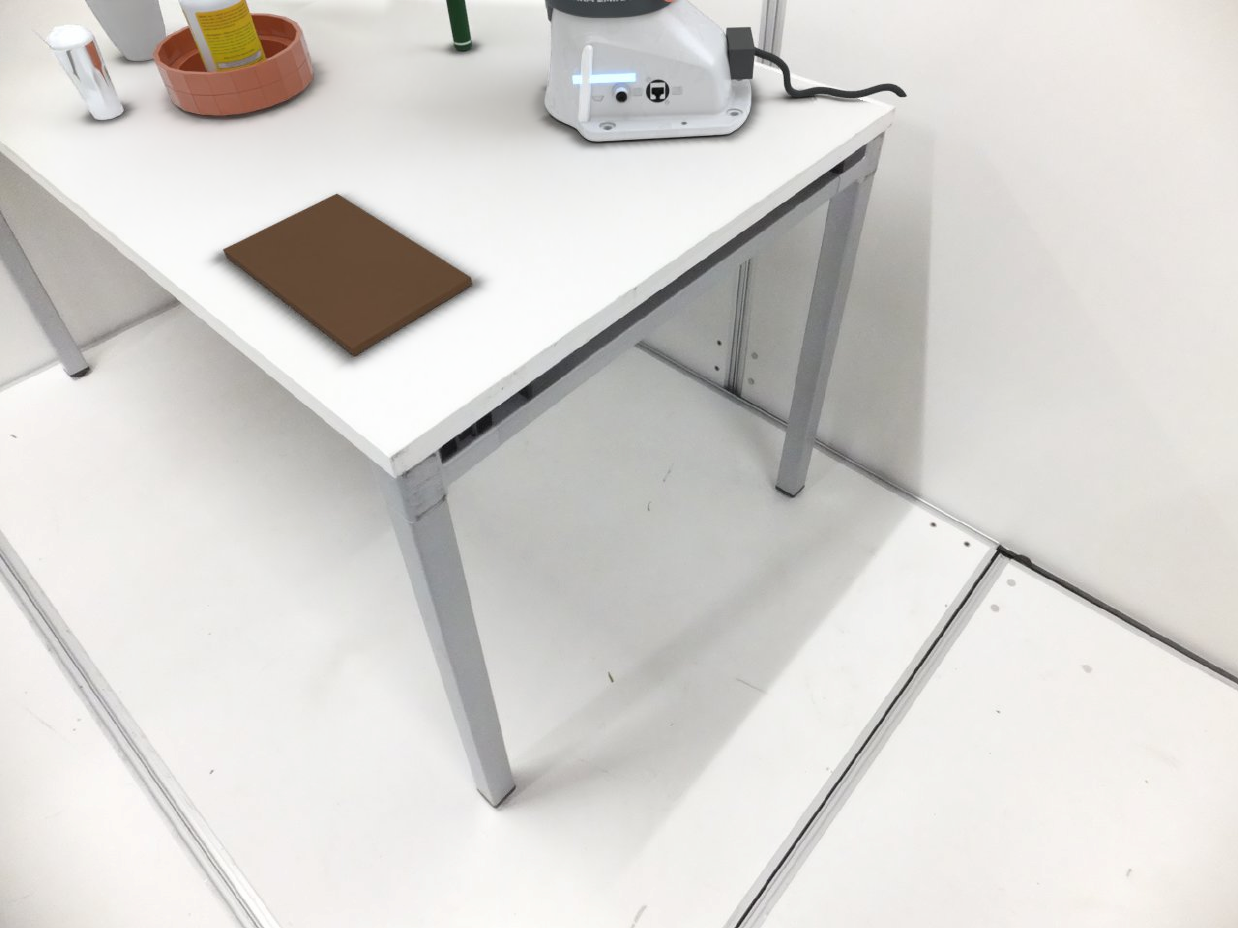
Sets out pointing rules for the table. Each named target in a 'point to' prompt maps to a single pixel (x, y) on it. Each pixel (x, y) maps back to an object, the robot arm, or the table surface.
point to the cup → (131, 25)
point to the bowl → (237, 71)
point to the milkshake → (85, 69)
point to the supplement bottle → (223, 33)
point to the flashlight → (459, 24)
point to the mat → (347, 272)
